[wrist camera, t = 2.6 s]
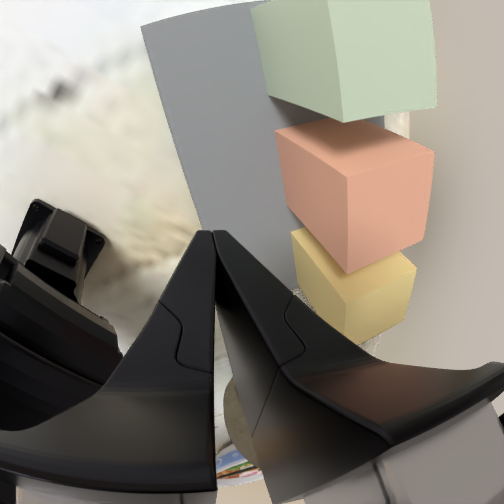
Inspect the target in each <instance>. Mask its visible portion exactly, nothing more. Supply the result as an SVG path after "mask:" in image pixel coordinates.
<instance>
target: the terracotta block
mask: <svg viewBox="0 0 504 504" xmlns="http://www.w3.org/2000/svg"><path fill="white" fill-rule="evenodd" d="M275 136H276V142H277V148H278V154H279V160H280V166H281V172H282V178H283V184H284V191H285V197H286V204H287V206H288V207H289V208H290V210H291V211H292V212H293V213H294V214H295V215H296V216H297V217H298V218H299V220H300V221H301V222H302V223H303V224H304V225H305V226H306V227H307V229H308V230H309V231H310V232H311V233H312V234H313V235H314V236H315V238H316V239H317V240H318V241H319V242H320V243H321V244H322V246H323V247H324V248H325V249H326V250H327V251H328V253H329V254H330V255H331V256H332V257H333V258H334V260H335V261H336V262H337V263H338V264H339V265H340V267H341V268H342V269H343V270H344V271H345V272H346V274H349V273H352V272H354V271H356V270H358V269H361V268H363V267H365V266H367V265H370V264H372V263H374V262H376V261H378V260H381V259H383V258H385V257H387V256H389V255H391V254H394V253H396V252H398V251H400V250H402V249H404V248H406V247H408V246H410V245H413V244H415V243H417V242H419V241H421V240H423V237H424V232H425V226H426V220H427V213H428V208H429V200H430V193H431V185H432V176H433V166H434V155H435V154H434V153H435V152H433V151H431V150H429V149H427V148H426V147H424V146H422V145H419V144H417V143H415V142H413V141H411V140H409V139H407V138H405V137H403V136H400V135H398V134H396V133H394V132H391V131H389V130H387V129H385V128H382V127H380V126H377V125H375V124H373V123H370V122H368V121H365V120H363V119H360V120H355V121H350V122H345V123H343V122H340V121H338V120H336V119H333V118H327V119H322V120H317V121H313V122H308V123H304V124H300V125H295V126H291V127H287V128H283V129H279V130H275Z"/></svg>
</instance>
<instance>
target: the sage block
mask: <svg viewBox="0 0 504 504" xmlns="http://www.w3.org/2000/svg"><path fill="white" fill-rule="evenodd" d="M250 10H251V15H252V19H253V24H254V28H255V33H256V38H257V42H258V47H259V52H260V57H261V62H262V67H263V72H264V77H265V82H266V87H267V92H268V95H269V96H273V97H276V98H279V99H282V100H285V101H288V102H291V103H293V104H296V105H299V106H302V107H305V108H307V109H310V110H313V111H315V112H318V113H321V114H323V115H326V116H328V117H331V118H333V119H336V120H338V121H340V122H343V123H345V122H350V121H355V120H360V119H365V118H371V117H376V116H382V115H388V114H394V113H401V112H407V111H414V110H421V109H429V108H436V107H437V78H436V58H435V57H436V56H435V43H434V33H433V23H432V15H431V8H430V1H429V0H271V1H268V2H266V3H263V4H261V5H259V6H256V7H254V8H252V9H250Z"/></svg>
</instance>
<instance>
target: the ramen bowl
mask: <svg viewBox="0 0 504 504" xmlns="http://www.w3.org/2000/svg"><path fill="white" fill-rule="evenodd" d="M216 475H217V487H224V486H234V485H239V484H245V483H250V482H253V481H257V480H260V479H264V477H263V474H262V471H261V469H260V468H258V467H256V466H254V465H253V464H251V463H250V462H249V461H248V460H247V459H245V458H244V457H243V455H242V454H241V453H240V452H239V451H238V450H237V449H236V447H235V445H234V444H231V445H229V446H228V447H226V448H224V449H223V450H222V451H221V452H220V453H219V454H218V455H217V456H216Z"/></svg>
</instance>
